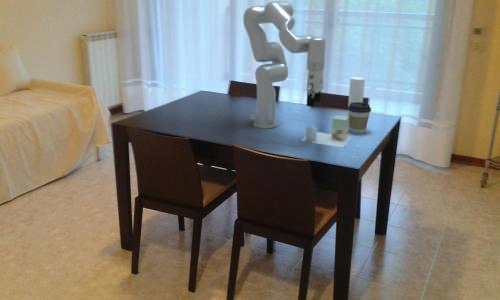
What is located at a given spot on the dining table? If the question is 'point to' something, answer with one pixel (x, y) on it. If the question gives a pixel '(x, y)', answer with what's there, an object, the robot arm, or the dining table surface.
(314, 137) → the pale white cylinder
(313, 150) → the dining table surface
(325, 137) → the white rectangular slab
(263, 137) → the dining table surface
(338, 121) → the top block
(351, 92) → the cylindrical container
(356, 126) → the coffee cup
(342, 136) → the bottom block
